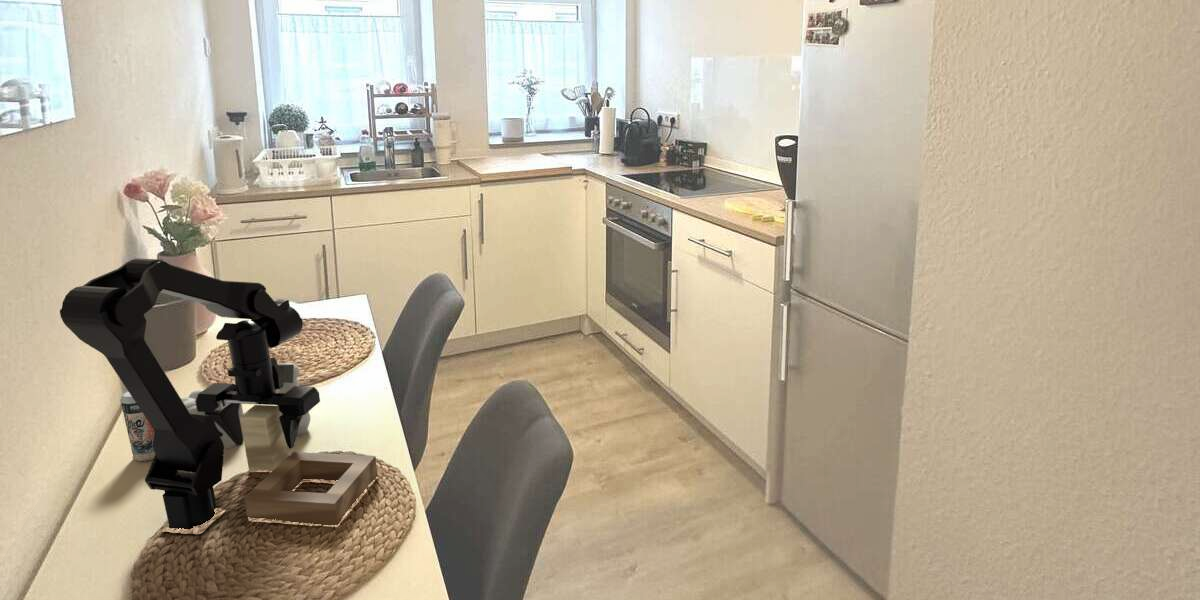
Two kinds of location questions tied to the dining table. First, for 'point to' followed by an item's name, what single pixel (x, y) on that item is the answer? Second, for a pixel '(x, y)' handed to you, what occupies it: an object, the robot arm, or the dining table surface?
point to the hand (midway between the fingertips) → (265, 446)
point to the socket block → (307, 507)
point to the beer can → (137, 429)
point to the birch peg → (263, 437)
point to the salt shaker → (287, 386)
